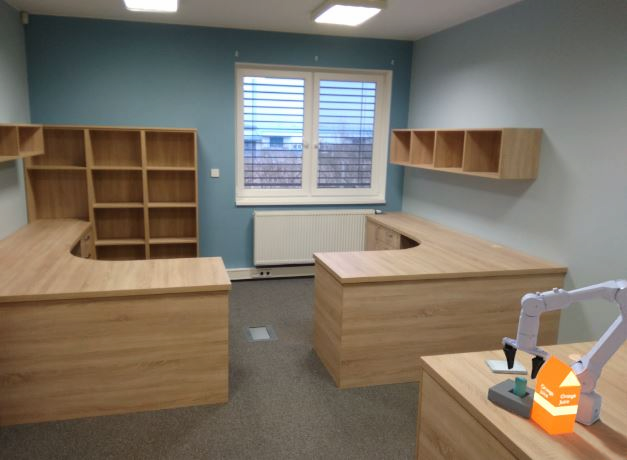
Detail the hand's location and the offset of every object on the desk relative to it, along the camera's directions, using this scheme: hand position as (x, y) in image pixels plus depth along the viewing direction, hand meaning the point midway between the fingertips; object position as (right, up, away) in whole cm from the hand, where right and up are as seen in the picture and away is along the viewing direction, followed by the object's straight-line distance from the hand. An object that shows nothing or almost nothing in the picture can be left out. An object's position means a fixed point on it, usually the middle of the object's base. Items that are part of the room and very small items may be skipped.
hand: (521, 373), depth 159 cm
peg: (-1, -10, +2) cm, 10 cm away
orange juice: (+5, -13, -10) cm, 17 cm away
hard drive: (+4, -6, +26) cm, 27 cm away
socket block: (-1, -10, +2) cm, 10 cm away
